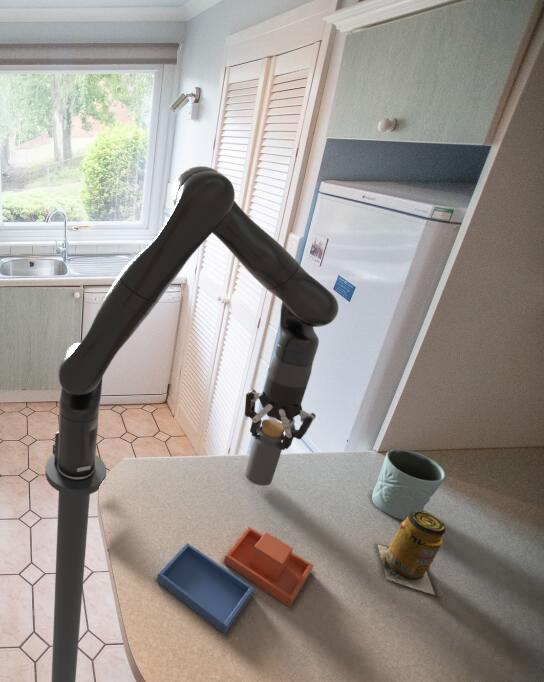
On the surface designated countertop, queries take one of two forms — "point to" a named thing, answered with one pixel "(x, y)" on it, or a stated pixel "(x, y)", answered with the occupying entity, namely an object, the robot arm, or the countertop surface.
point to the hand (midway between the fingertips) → (268, 441)
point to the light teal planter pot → (406, 483)
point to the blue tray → (205, 587)
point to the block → (270, 556)
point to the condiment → (413, 551)
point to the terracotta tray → (280, 589)
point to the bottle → (265, 453)
